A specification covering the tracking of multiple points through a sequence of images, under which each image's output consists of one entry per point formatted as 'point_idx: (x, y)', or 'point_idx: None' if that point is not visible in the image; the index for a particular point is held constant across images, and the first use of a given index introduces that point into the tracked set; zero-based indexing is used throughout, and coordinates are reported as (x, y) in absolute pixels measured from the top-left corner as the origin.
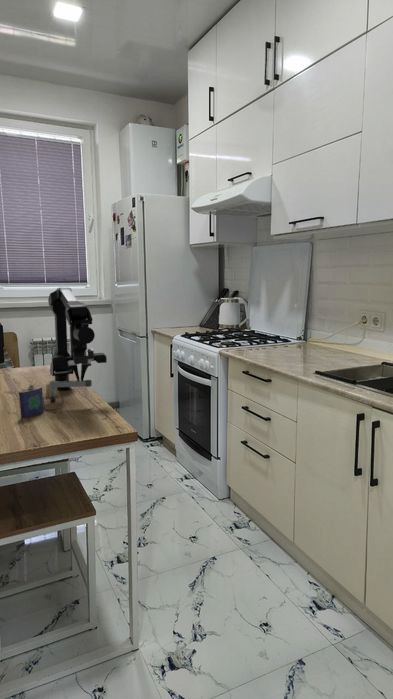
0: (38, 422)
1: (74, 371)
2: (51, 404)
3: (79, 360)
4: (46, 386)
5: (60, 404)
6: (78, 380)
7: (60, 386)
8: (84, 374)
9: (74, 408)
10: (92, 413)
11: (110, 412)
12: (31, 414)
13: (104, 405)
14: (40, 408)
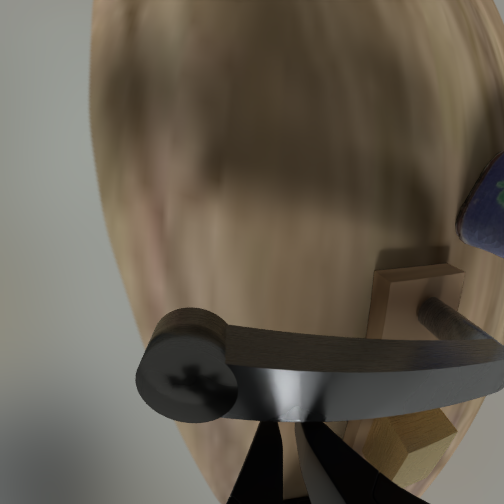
0: (462, 65)
1: (416, 500)
2: (437, 274)
3: None
4: (450, 425)
5: (393, 277)
6: (314, 425)
7: (459, 343)
8: (236, 490)
9: (310, 236)
10: (203, 77)
11: (98, 77)
12: (497, 163)
13: (113, 245)
14: (483, 203)
